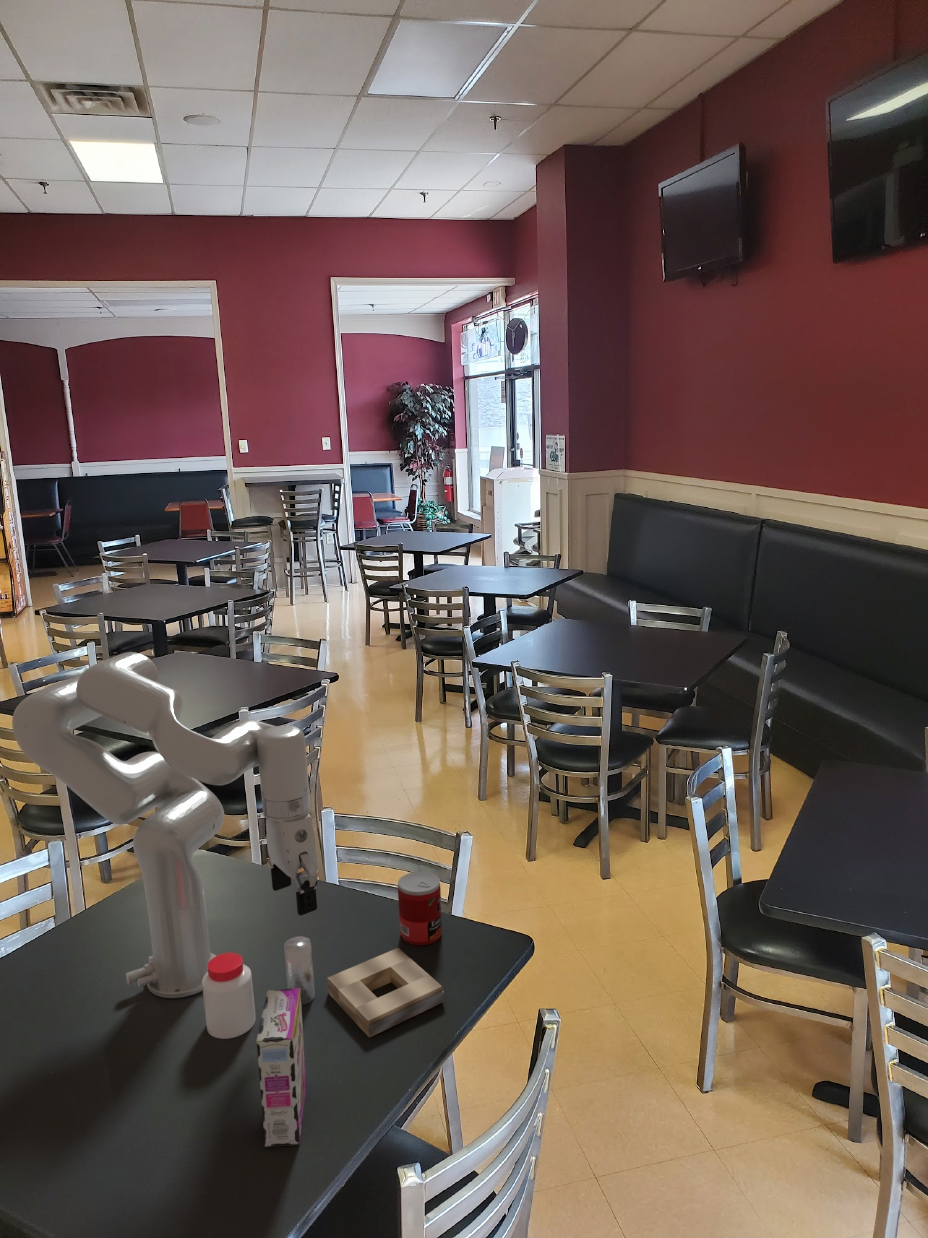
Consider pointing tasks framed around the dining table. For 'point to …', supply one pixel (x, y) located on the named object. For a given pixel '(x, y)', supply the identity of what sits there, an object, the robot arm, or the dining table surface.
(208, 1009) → the pill bottle
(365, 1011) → the frame
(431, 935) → the canned food
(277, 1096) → the candy bar box
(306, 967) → the frosted glass cylinder
